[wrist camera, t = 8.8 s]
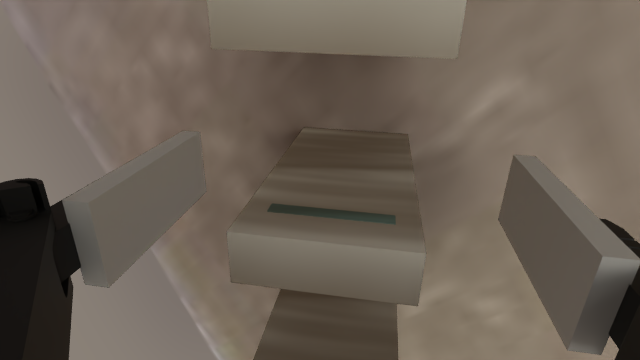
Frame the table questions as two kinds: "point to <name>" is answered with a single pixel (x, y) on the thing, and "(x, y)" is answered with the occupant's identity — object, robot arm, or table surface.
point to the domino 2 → (335, 220)
